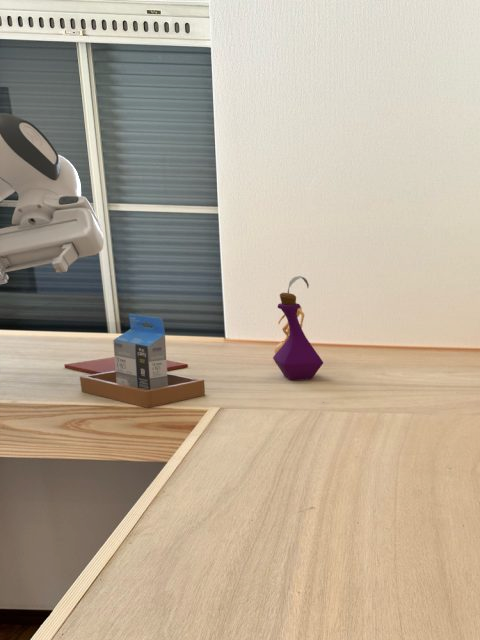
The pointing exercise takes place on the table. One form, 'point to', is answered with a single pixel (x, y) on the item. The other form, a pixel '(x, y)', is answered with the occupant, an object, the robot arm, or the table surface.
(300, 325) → the figurine
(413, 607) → the table surface
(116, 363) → the label tape box
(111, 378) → the frame
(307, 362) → the perfume bottle
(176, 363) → the rubber mat
